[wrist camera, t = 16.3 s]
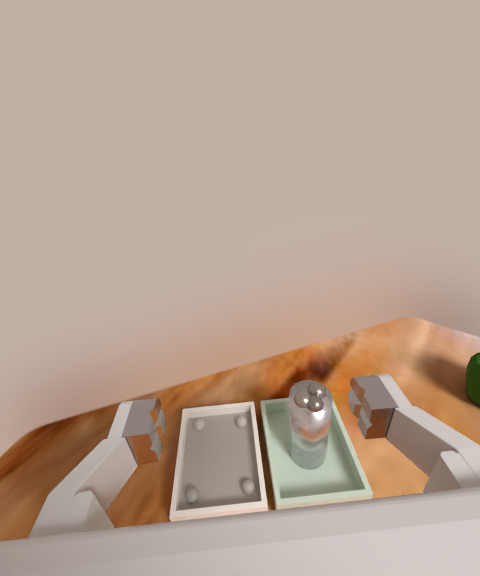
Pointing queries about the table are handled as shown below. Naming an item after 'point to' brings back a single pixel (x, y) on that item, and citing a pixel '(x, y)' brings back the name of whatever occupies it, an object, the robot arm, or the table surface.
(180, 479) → the bin
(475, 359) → the bell pepper
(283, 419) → the bin
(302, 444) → the chrome tube with bumps
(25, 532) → the table surface
